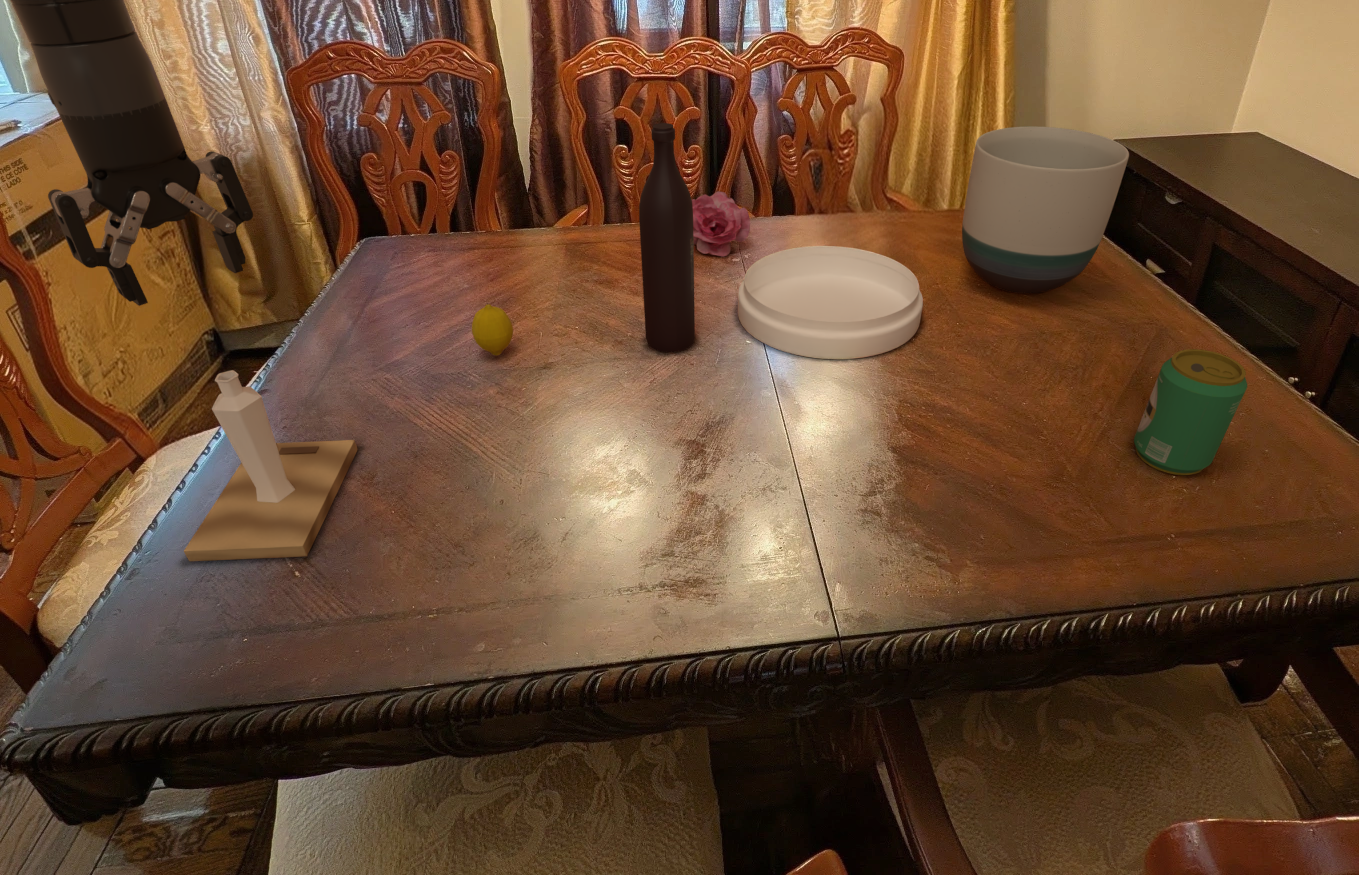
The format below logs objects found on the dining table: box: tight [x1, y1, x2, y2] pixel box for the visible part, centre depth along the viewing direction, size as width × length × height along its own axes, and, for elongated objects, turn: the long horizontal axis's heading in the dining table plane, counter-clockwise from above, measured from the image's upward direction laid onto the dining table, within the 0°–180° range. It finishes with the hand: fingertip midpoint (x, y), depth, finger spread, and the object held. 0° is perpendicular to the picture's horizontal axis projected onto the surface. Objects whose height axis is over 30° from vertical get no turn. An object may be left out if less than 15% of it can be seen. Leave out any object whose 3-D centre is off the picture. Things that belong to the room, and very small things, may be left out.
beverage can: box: [1133, 348, 1248, 476], centre depth 88 cm, size 8×8×12 cm
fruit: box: [471, 303, 514, 357], centre depth 111 cm, size 6×6×8 cm
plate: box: [737, 245, 924, 360], centre depth 119 cm, size 27×27×6 cm
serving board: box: [183, 439, 358, 562], centre depth 88 cm, size 18×12×2 cm, turn 2°
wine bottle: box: [638, 122, 696, 353], centre depth 106 cm, size 7×7×30 cm
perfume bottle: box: [211, 369, 295, 503], centre depth 84 cm, size 5×4×15 cm
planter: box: [961, 126, 1130, 295], centre depth 121 cm, size 20×20×21 cm
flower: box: [691, 190, 751, 257], centre depth 140 cm, size 11×10×10 cm
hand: (189, 285), depth 73 cm, fingers open, 8 cm apart
